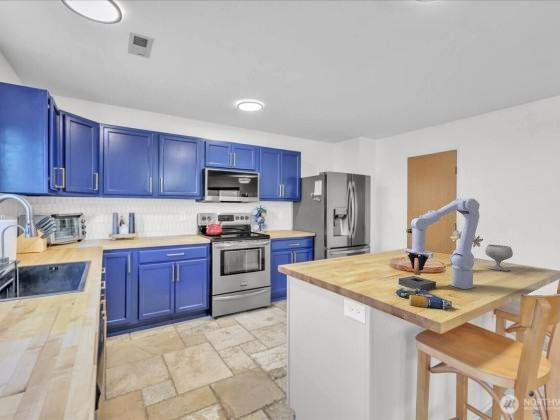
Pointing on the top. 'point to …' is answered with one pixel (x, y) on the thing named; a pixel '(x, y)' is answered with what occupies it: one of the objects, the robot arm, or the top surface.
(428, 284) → the collar block
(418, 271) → the pin
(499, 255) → the chalice
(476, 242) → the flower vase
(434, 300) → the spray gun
